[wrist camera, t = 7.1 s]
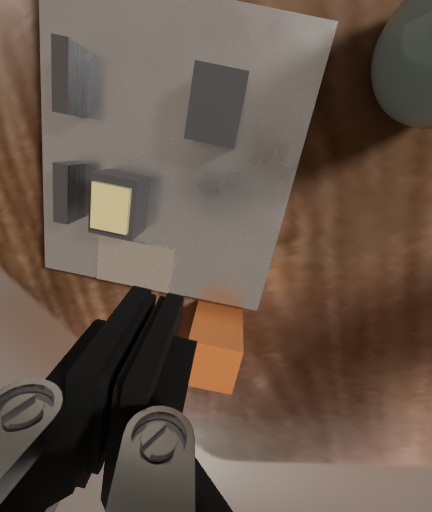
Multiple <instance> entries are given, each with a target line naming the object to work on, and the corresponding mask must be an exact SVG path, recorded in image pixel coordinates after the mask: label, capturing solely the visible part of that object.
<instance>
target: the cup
mask: <svg viewBox="0 0 432 512" xmlns="http://www.w3.org/2000/svg"><path fill="white" fill-rule="evenodd" d="M371 83H372V88H373V92H374V95H375V97H376V100H377V102H378V103H379V105H380V107H381V108H382V110H383V111H384V112H385V113H386V114H387V115H388V116H389V117H390V118H392V119H393V120H395V121H397V122H399V123H401V124H403V125H407V126H411V127H415V128H421V129H432V0H403V2H402V3H401V4H400V5H399V6H398V8H397V9H396V10H395V11H394V13H393V14H392V15H391V17H390V18H389V20H388V22H387V23H386V25H385V27H384V28H383V30H382V32H381V33H380V35H379V37H378V40H377V43H376V45H375V48H374V51H373V55H372V61H371Z"/></svg>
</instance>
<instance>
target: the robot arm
mask: <svg viewBox="0 0 432 512" xmlns="http://www.w3.org/2000/svg"><path fill="white" fill-rule="evenodd" d="M155 301H156V295H154V294H151V289H148V288H143V287H139V286H133V287H132V288H131V289H130V291H129V292H128V293H127V295H126V296H125V297H124V299H123V300H122V301H121V302H120V304H119V305H118V306H117V308H116V309H115V310H114V312H113V313H112V314H111V316H110V317H109V318H108V320H107V321H104V320H100V319H97V320H95V321H94V322H93V323H92V324H91V325H90V326H89V328H88V329H87V330H86V331H85V332H84V334H83V335H82V336H81V337H80V338H79V339H78V341H77V342H76V343H75V344H74V346H73V347H72V348H71V349H70V350H69V352H68V353H67V354H66V355H65V356H64V357H63V359H62V360H61V361H60V362H59V363H58V365H57V366H56V367H55V368H54V370H53V371H52V372H51V373H50V374H49V376H48V377H47V378H46V379H45V380H44V379H26V380H21V381H17V382H14V383H11V384H9V385H7V386H4V387H3V388H1V389H0V512H55V510H56V508H57V506H58V503H59V501H60V500H62V499H64V498H66V497H67V496H69V495H70V494H72V493H73V491H74V489H75V487H81V488H85V487H86V484H87V482H88V480H89V478H90V475H91V473H93V474H99V472H100V471H101V468H102V466H103V463H104V461H105V464H104V474H103V483H102V493H101V501H102V504H103V506H104V509H105V512H233V511H232V510H231V508H230V507H229V505H228V504H227V502H226V501H225V499H224V498H223V497H222V495H221V494H220V492H219V491H218V489H217V488H216V486H215V485H214V484H213V482H212V481H211V479H210V478H209V476H208V475H207V473H206V472H205V471H204V469H203V468H202V467H201V465H200V463H199V462H198V460H197V459H196V458H195V437H194V431H193V427H192V425H191V423H190V422H189V420H188V419H187V418H186V417H185V416H184V415H183V414H182V412H183V407H184V403H185V398H186V393H187V389H188V384H189V379H190V374H191V370H192V365H193V360H194V355H195V351H196V346H197V341H195V340H190V339H186V338H181V337H177V333H178V328H179V323H180V317H181V312H182V307H183V302H184V296H179V295H175V294H170V293H168V294H167V295H166V297H163V296H160V297H159V299H158V301H157V303H156V305H155Z"/></svg>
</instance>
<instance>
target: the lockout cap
mask: <svg viewBox="0 0 432 512" xmlns="http://www.w3.org/2000/svg"><path fill="white" fill-rule="evenodd" d="M189 339H190V340H195V341H197V346H196V351H195V355H194V360H193V365H192V370H191V374H190V379H189V384H188V386H191V387H196V388H200V389H205V390H210V391H215V392H220V393H225V394H230V395H232V393H233V389H234V385H235V382H236V378H237V375H238V371H239V367H240V364H241V360H242V357H243V353H244V347H243V310H242V308H238V307H233V306H228V305H223V304H218V303H214V302H209V301H204V300H198V304H197V308H196V312H195V316H194V320H193V323H192V327H191V331H190V335H189Z"/></svg>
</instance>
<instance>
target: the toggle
mask: <svg viewBox="0 0 432 512" xmlns="http://www.w3.org/2000/svg"><path fill="white" fill-rule="evenodd" d="M248 78H249V71H247V70H243V69H238V68H233V67H228V66H223V65H218V64H213V63H208V62H204V61H199V60H195V62H194V69H193V76H192V83H191V91H190V98H189V105H188V112H187V119H186V126H185V133H184V139H189V140H193V141H198V142H203V143H208V144H213V145H218V146H223V147H228V148H232V149H235V144H236V139H237V134H238V129H239V124H240V119H241V114H242V109H243V104H244V99H245V94H246V89H247V84H248Z"/></svg>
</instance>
